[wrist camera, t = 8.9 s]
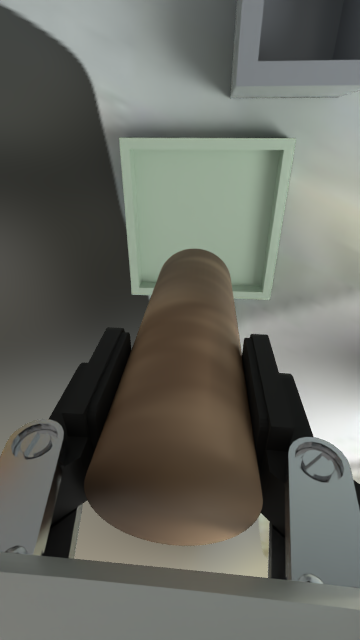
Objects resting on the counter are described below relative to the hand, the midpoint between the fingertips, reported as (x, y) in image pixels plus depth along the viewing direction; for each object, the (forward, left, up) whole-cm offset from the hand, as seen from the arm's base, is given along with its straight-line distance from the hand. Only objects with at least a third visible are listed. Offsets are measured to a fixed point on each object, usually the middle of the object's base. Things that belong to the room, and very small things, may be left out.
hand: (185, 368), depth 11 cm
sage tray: (0, 0, -23) cm, 23 cm away
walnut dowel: (0, 0, -7) cm, 7 cm away
